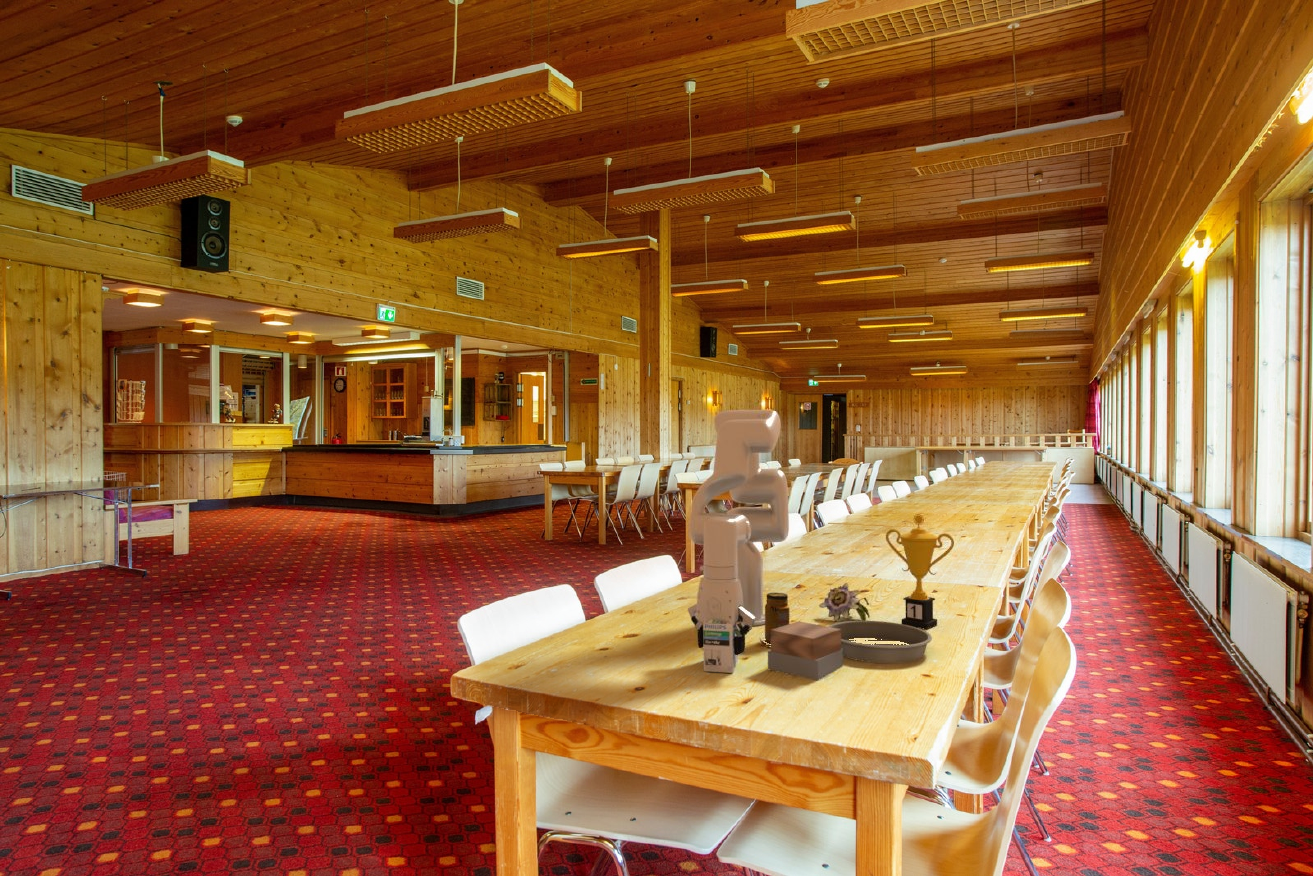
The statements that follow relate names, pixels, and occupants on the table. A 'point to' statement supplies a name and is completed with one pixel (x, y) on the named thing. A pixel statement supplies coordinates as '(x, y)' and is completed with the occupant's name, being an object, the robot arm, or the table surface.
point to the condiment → (775, 613)
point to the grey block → (805, 664)
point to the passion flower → (844, 603)
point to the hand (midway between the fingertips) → (720, 650)
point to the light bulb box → (719, 646)
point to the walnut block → (805, 640)
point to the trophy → (919, 571)
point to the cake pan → (886, 633)
